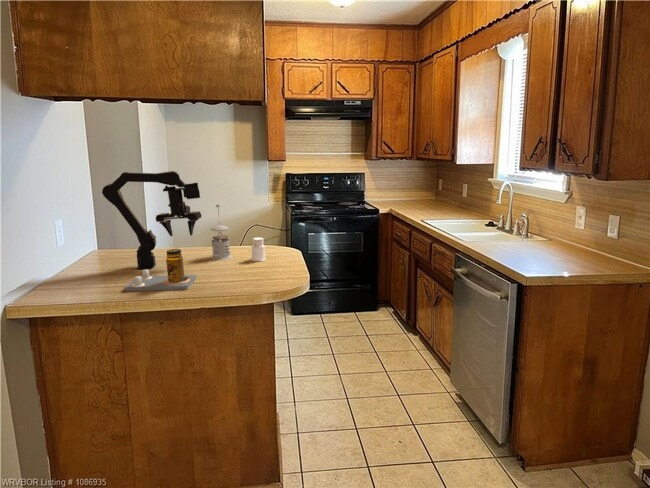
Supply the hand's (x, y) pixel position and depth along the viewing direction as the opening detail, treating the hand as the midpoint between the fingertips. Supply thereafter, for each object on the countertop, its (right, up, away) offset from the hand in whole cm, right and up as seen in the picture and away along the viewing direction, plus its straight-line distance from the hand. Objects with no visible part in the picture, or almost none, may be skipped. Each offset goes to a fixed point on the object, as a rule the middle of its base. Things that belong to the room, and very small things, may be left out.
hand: (181, 235), depth 209 cm
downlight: (+33, -11, +9) cm, 35 cm away
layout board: (0, -19, -26) cm, 32 cm away
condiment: (+7, -18, -26) cm, 32 cm away
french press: (+14, -10, +15) cm, 23 cm away
